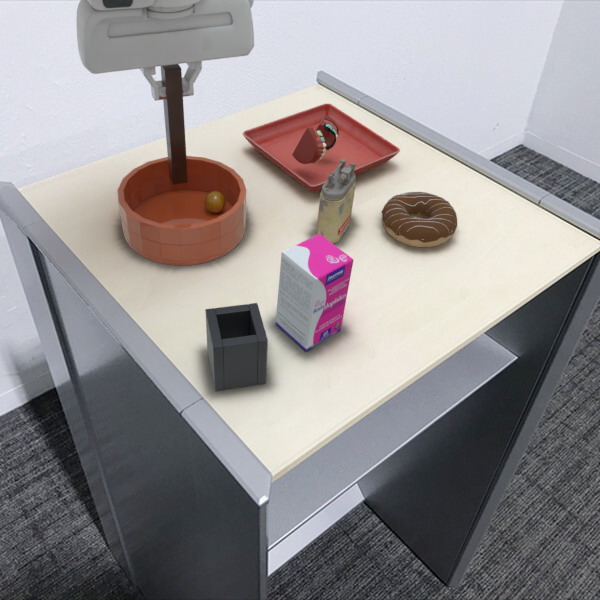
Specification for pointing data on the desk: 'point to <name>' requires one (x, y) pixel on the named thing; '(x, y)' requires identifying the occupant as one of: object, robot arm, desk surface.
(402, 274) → the desk surface
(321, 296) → the supplement box
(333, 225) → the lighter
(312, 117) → the red square tray
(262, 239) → the desk surface
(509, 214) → the desk surface
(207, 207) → the bead
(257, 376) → the holder
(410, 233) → the donut
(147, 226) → the bowl
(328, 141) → the dental model
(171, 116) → the stick
